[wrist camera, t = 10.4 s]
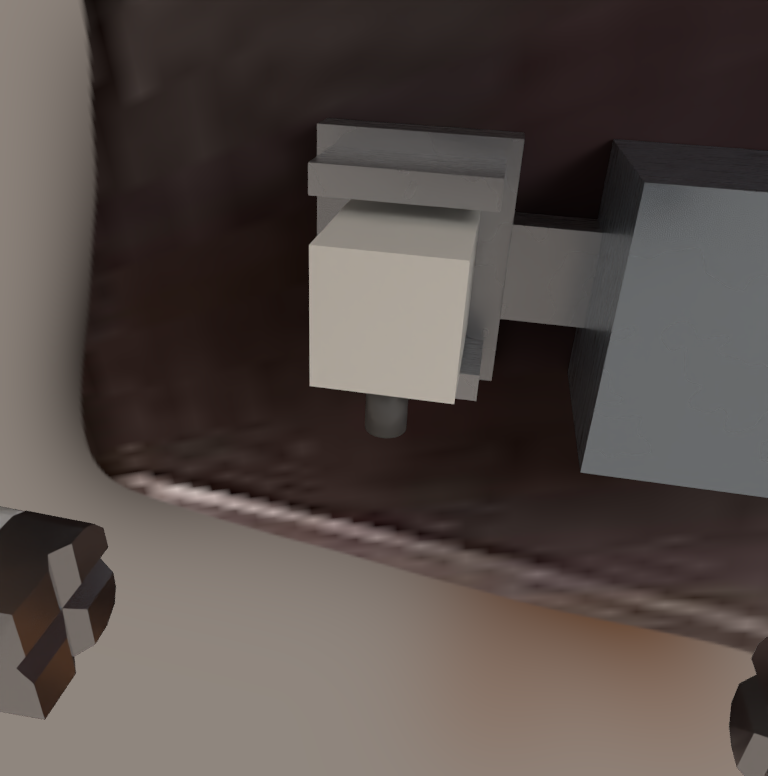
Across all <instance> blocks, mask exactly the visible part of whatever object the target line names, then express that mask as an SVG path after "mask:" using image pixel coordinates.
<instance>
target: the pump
mask: <svg viewBox="0 0 768 776" xmlns="http://www.w3.org/2000/svg"><path fill="white" fill-rule="evenodd" d="M480 212H481V211H479V210H468V209H456V208H445V207H434V206H423V205H412V204H400V203H389V202H378V201H367V200H356V199H351V200H350V201H349V202H348V203H347V204H346V205H345V206H344V207H343V208H342V209H341V210H340V212H339V213H338V214H337V215H336V216H335V217H334V218H333V219H332V220H331V221H330V222H329V224H328V225H327V226H326V227H325V228H324V229H323V230H322V231H321V232H320V233H319V234H318V236H317V237H316V238H315V239H314V240H313V241H312V242H311V243H310V244H309V347H310V386H314V387H322V388H329V389H337V390H345V391H353V392H361V393H366V410H365V429H366V431H367V432H368V433H370V434H371V435H373V436H376V437H380V438H394V437H398V436H400V435H402V434H403V433H404V432H405V431H406V425H407V411H408V398H409V399H416V400H424V401H432V402H440V403H448V404H454V402H455V396H456V390H457V385H458V379H459V373H460V367H461V361H462V356H463V350H464V344H465V338H466V332H467V326H468V318H469V309H470V300H471V291H472V282H473V274H474V265H475V256H476V247H477V239H478V230H479V221H480Z"/></svg>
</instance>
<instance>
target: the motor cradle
mask: <svg viewBox="0 0 768 776" xmlns="http://www.w3.org/2000/svg"><path fill="white" fill-rule="evenodd" d="M524 140H525V139H524V133H523V132H510V131H497V130H483V129H470V128H456V127H443V126H429V125H416V124H402V123H389V122H376V121H362V120H349V119H335V118H327V119H325V120H323V121H321V122H319V123H317V156H316V157H315V158H314V159H312V160H311V161H309V162H308V195H311V196H317V236H318V234H319V233H320V232H321V231H322V230H323V229H324V228H325V227H326V226H327V225H328V224H329V222H330V221H331V220H332V219H333V218H334V217H335V216H336V215H337V214H338V213H339V212H340V210H341V209H342V208H343V207H344V206H345V205H346V204H347V203H348V202H349V201H350V200H351V199H356V200H367V201H378V202H389V203H400V204H412V205H423V206H434V207H445V208H456V209H468V210H479V211H481V212H480V221H479V230H478V239H477V247H476V256H475V265H474V274H473V282H472V291H471V300H470V309H469V318H468V326H467V332H466V338H465V344H464V350H463V356H462V361H461V367H460V373H459V379H458V385H457V390H456V396H455V399H463V400H471V401H476V399H477V391H478V384H479V380H487V381H492V373H493V366H494V359H495V351H496V344H497V337H498V329H499V322H500V319H506V320H515V321H524V322H533V323H542V324H552V325H561V326H570V327H576V332H575V337H574V342H573V347H572V353H571V358H570V363H569V368H568V381H569V388H570V396H571V404H572V412H573V420H574V427H575V435H576V443H577V451H578V458H579V466H580V472H581V473H588V474H596V475H603V476H610V477H618V478H625V479H633V480H640V481H647V482H655V483H662V484H670V485H677V486H684V487H692V488H699V489H707V490H714V491H721V492H729V493H736V494H744V495H751V496H758V497H766V498H768V151H766V150H752V149H739V148H725V147H712V146H698V145H685V144H671V143H658V142H645V141H631V140H618V139H613V143H612V148H611V153H610V158H609V163H608V168H607V173H606V179H605V184H604V189H603V194H602V199H601V204H600V209H599V214H598V219H590V218H578V217H567V216H556V215H545V214H533V213H522V212H515V205H516V198H517V191H518V183H519V176H520V169H521V161H522V154H523V147H524ZM309 380H310V355H309Z"/></svg>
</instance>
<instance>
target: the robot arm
mask: <svg viewBox="0 0 768 776" xmlns="http://www.w3.org/2000/svg"><path fill="white" fill-rule="evenodd" d="M107 548H108V544H107V540H106V536H105V533H104V529H103V528H102V527H100V526H97V525H95V524H91V523H87V522H82V521H77V520H71V519H66V518H61V517H56V516H51V515H45V514H41V513H36V512H31V511H22V510H17V509H11V508H6V507H1V506H0V712H4V713H10V714H16V715H22V716H27V717H32V718H38V719H44V720H45V719H46V717H47V716H48V714H49V713H50V711H51V710H52V708H53V707H54V705H55V704H56V702H57V701H58V699H59V698H60V696H61V695H62V693H63V692H64V690H65V689H66V688H67V686H68V684H69V683H70V682H71V680H72V679H73V677H74V676H75V674H76V670H75V659H74V656H76V655H78V654H80V653H81V652H83V651H85V650H86V649H88V648H90V647H91V646H93V645H95V644H96V642H97V641H98V639H99V637H100V636H101V634H102V633H103V631H104V630H105V628H106V626H107V624H108V621H109V618H110V615H111V613H112V610H113V607H114V604H115V592H116V585H115V579H114V574H113V572H112V571H111V570H110V569H109V568H108V566H107V565H106V564H105V563H104V562H103V561H102V560H101V559H100V558H101V556H102V555H103V554H104V552H105V551H106V550H107ZM752 662H753V665H754V668H755V671H756V674H757V675H755V676H753V677H751V678H749V679H747V680H745V681H743V682H741V683H740V684H739V686H738V688H737V690H736V693H735V695H734V698H733V700H732V703H731V712H730V722H729V730H730V738H731V747H732V751H733V755H734V759H735V763H736V767H737V768H738V770H739V771H740V772H741V773H742V774H743V775H744V776H768V637H766V638H765V639H764V640H762V641H761V642H760V643H759V644H758V646H757V648H756V650H755V652H754V654H753V656H752Z"/></svg>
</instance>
